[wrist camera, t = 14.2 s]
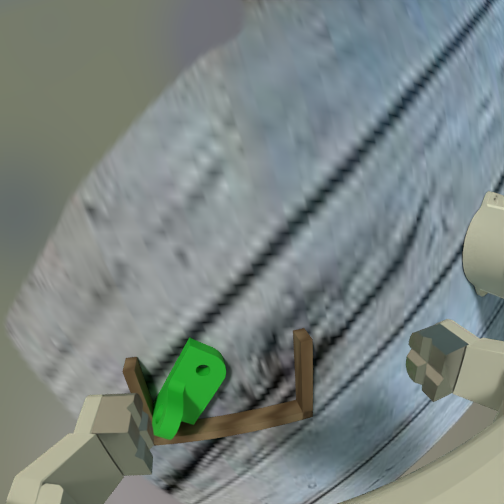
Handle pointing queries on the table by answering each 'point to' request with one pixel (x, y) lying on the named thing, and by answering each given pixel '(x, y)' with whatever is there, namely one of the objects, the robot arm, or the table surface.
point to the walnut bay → (241, 420)
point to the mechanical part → (187, 388)
